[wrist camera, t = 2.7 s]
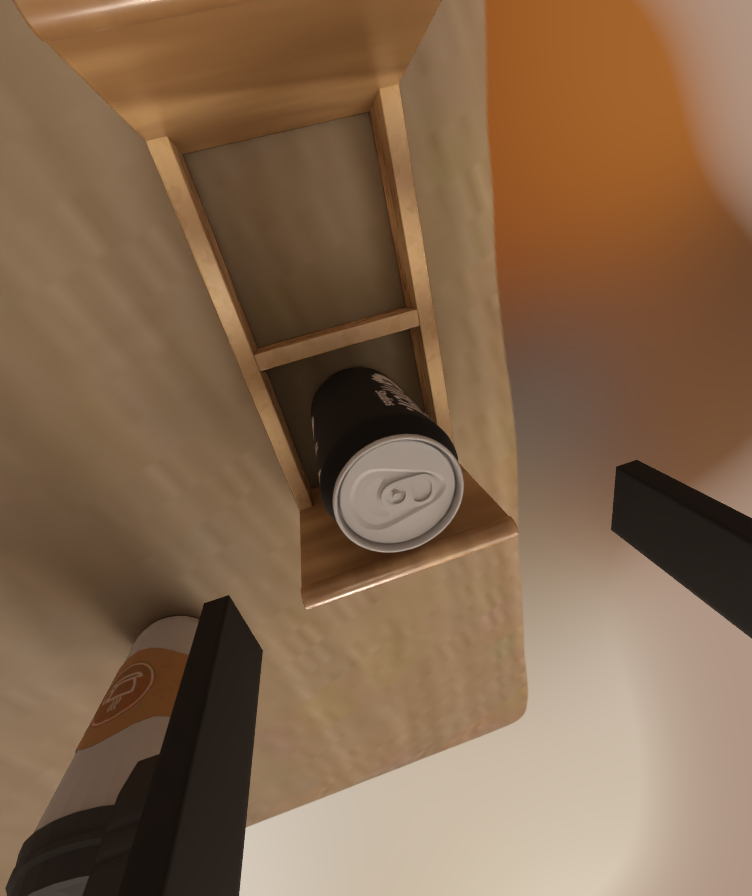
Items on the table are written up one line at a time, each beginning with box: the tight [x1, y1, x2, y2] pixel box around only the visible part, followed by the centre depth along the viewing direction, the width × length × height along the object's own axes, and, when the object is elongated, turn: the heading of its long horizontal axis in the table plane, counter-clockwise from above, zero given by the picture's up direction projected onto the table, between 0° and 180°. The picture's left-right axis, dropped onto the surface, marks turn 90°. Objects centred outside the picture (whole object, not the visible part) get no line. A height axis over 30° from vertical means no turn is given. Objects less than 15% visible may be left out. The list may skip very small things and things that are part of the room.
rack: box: [13, 0, 519, 609], centre depth 19 cm, size 23×12×11 cm, turn 14°
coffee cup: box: [6, 616, 199, 896], centre depth 24 cm, size 8×8×15 cm
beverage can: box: [311, 368, 464, 552], centre depth 20 cm, size 7×7×12 cm
